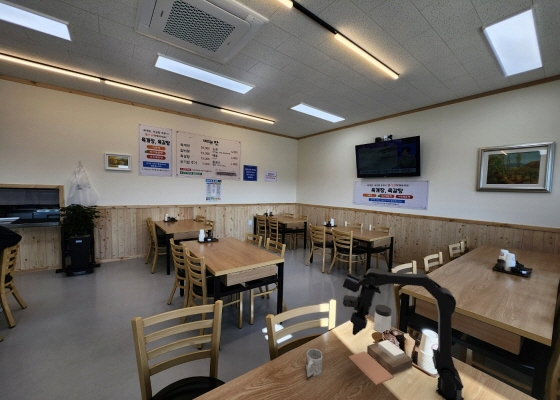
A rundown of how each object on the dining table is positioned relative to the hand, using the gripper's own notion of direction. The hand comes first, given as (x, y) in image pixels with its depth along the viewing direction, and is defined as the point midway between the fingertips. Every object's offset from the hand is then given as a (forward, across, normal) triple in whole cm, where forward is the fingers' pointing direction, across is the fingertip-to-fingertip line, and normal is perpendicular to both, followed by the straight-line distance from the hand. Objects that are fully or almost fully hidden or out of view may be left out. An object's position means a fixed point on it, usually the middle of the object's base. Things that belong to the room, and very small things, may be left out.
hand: (355, 328), depth 100 cm
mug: (+19, +14, -10) cm, 25 cm away
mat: (+13, -1, +10) cm, 17 cm away
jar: (+13, -33, +14) cm, 38 cm away
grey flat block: (+8, -10, +17) cm, 22 cm away
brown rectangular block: (+12, -10, +17) cm, 23 cm away
